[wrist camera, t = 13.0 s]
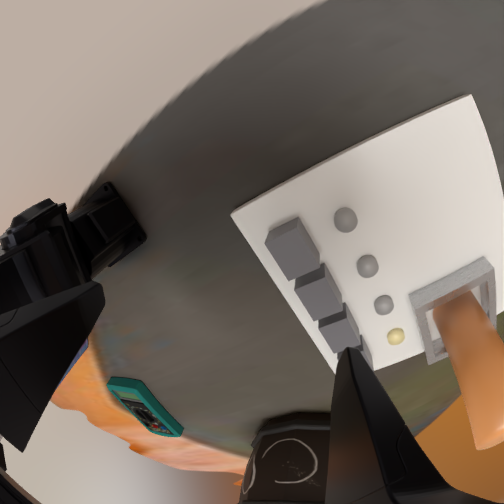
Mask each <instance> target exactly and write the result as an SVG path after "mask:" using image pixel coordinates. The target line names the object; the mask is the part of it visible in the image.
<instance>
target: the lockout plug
mask: <svg viewBox="0 0 504 504" xmlns="http://www.w3.org/2000/svg"><path fill="white" fill-rule="evenodd" d="M433 320H434V322H435V324H436V327H437V329H438V331H439V334H440V336H441V338H442V341H443V343H444V346H445V348H446V351H447V353H448V356H449V359H450V361H451V364H452V367H453V369H454V372H455V375H456V378H457V381H458V384H459V387H460V390H461V393H462V396H463V399H464V402H465V406H466V409H467V412H468V417H469V420H470V424H471V428H472V432H473V436H474V441H475V445H476V449H477V450H484V449H487V448H490V447H493V446H495V445H497V444H499V443H501V442H502V441H504V343H503V341H502V340H501V338H500V336H499V334H498V333H497V331H496V329H495V328H494V326H493V324H492V323H491V321H490V319H489V318H488V316H487V314H486V313H485V311H484V310H483V308H482V307H481V305H480V304H479V302H478V300H477V299H476V297H475V296H474V295H473V293H472V292H471V290H469V291H468V292H466V293H464V294H462V295H460V296H458V297H456V298H454V299H452V300H450V301H448V302H446V303H444V304H442V305H440V306H438V307H436V308H434V309H433Z"/></svg>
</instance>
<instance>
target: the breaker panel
mask: <svg viewBox="0 0 504 504" xmlns="http://www.w3.org/2000/svg"><path fill="white" fill-rule="evenodd" d="M230 216H231V217H232V219H233V220H234V222H235V223H236V225H237V226H238V228H239V229H240V231H241V232H242V234H243V235H244V237H245V238H246V240H247V241H248V243H249V244H250V246H251V247H252V249H253V250H254V252H255V253H256V255H257V256H258V258H259V260H260V261H261V263H262V264H263V266H264V267H265V269H266V270H267V272H268V273H269V275H270V276H271V278H272V279H273V281H274V282H275V284H276V285H277V287H278V288H279V290H280V291H281V293H282V294H283V296H284V297H285V299H286V300H287V302H288V303H289V305H290V306H291V308H292V309H293V311H294V312H295V314H296V315H297V317H298V318H299V320H300V322H301V323H302V325H303V326H304V328H305V329H306V331H307V332H308V334H309V335H310V337H311V338H312V340H313V341H314V343H315V344H316V346H317V347H318V349H319V350H320V352H321V353H322V355H323V356H324V358H325V359H326V361H327V362H328V364H329V366H330V367H331V369H332V370H333V372H334V373H335V375H336V367H337V363H338V361H339V359H340V357H341V355H342V353H343V351H344V349H345V348H346V347H354V348H358V349H359V350H360V352H361V353H362V355H363V356H364V358H365V360H366V361H367V363H368V364H369V366H370V367H371V369H372V370H373V372H374V371H375V370H377V369H380V368H383V367H386V366H389V365H391V364H394V363H397V362H399V361H402V360H405V359H407V358H410V357H412V356H414V355H417V354H419V353H422V352H424V349H423V345H422V341H421V337H420V333H419V329H418V326H417V322H416V319H415V315H414V312H413V308H412V305H411V302H410V299H409V296H408V294H410V293H412V292H414V291H416V290H418V289H421V288H423V287H425V286H427V285H429V284H431V283H433V282H435V281H437V280H439V279H441V278H443V277H445V276H447V275H449V274H451V273H453V272H455V271H457V270H459V269H461V268H462V267H464V266H466V265H468V264H470V263H472V262H473V261H475V260H477V259H479V258H481V257H482V256H484V257H485V258H486V259H487V260H488V261H489V262H490V264H491V265H492V266H493V267H494V269H495V282H496V315H497V314H499V313H500V312H502V311H504V198H503V193H502V188H501V183H500V179H499V175H498V171H497V167H496V163H495V159H494V156H493V152H492V149H491V146H490V142H489V139H488V136H487V133H486V130H485V128H484V125H483V122H482V119H481V117H480V114H479V111H478V109H477V107H476V104H475V102H474V99H473V97H472V95H471V94H470V95H462V96H460V97H457V98H455V99H453V100H450V101H448V102H446V103H443V104H441V105H439V106H436V107H434V108H432V109H430V110H427V111H425V112H423V113H421V114H418V115H416V116H414V117H412V118H410V119H407V120H405V121H403V122H401V123H399V124H397V125H395V126H392V127H390V128H388V129H386V130H384V131H382V132H380V133H378V134H376V135H374V136H372V137H370V138H367V139H365V140H363V141H361V142H359V143H357V144H355V145H353V146H351V147H349V148H347V149H345V150H343V151H341V152H339V153H337V154H336V155H334V156H332V157H330V158H328V159H326V160H324V161H322V162H320V163H318V164H316V165H314V166H312V167H311V168H309V169H307V170H305V171H303V172H301V173H299V174H297V175H296V176H294V177H292V178H290V179H288V180H286V181H284V182H283V183H281V184H279V185H277V186H275V187H274V188H272V189H270V190H268V191H266V192H265V193H263V194H261V195H259V196H257V197H256V198H254V199H252V200H250V201H249V202H247V203H245V204H243V205H242V206H240V207H238V208H236V209H235V210H234V211H233V212H232V213H231V214H230ZM471 292H472V293H473V295H474V296H475V297H476V299H477V300H478V302H479V304H480V305H481V294H480V285H479V286H477V287H475V288H473V289H471ZM425 313H426V317H427V321H428V325H429V330H430V334H431V339H432V341H434V340H436V339H438V338H440V337H441V336H440V334H439V331H438V329H437V327H436V324H435V322H434V320H433V309H432V310H430V311H427V312H425Z"/></svg>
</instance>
